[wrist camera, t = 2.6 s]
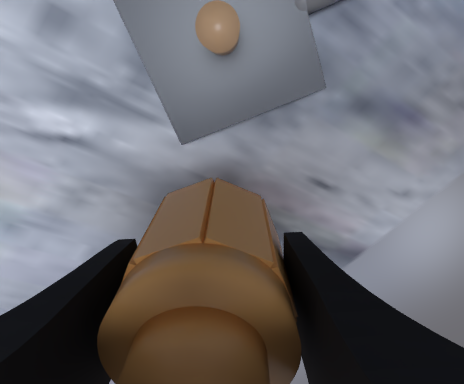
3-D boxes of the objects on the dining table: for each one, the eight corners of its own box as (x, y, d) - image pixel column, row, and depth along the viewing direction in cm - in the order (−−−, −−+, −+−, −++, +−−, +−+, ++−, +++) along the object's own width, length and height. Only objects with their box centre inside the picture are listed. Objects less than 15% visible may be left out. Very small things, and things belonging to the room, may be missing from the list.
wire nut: (250, 163, 10) (268, 284, 5) (288, 265, 12) (336, 442, 6) (132, 206, 11) (23, 355, 5) (185, 295, 13) (146, 478, 7)
